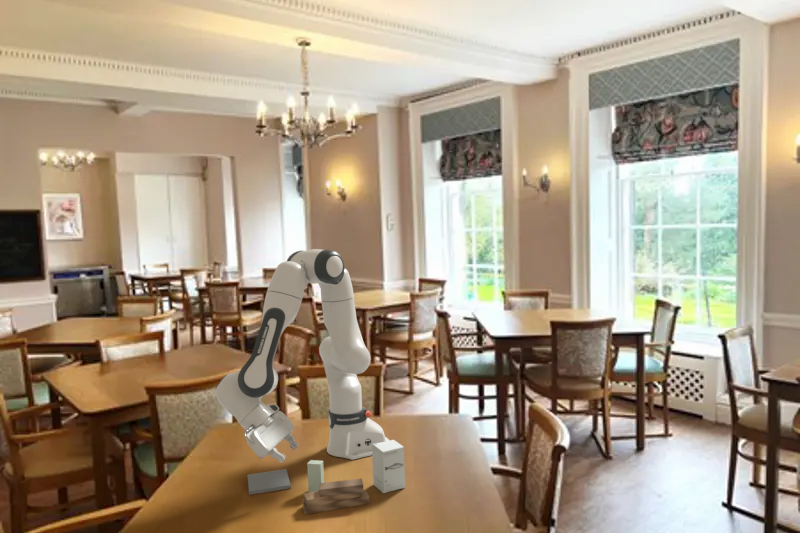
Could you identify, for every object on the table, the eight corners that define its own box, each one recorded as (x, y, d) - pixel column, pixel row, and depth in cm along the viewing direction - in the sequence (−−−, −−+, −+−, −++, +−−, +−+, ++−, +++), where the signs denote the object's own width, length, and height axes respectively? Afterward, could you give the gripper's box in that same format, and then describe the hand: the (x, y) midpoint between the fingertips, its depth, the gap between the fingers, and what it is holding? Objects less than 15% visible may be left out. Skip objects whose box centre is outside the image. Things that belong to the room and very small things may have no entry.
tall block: (311, 489, 173) (310, 460, 172) (324, 490, 172) (323, 460, 171) (308, 493, 170) (307, 463, 170) (321, 494, 170) (320, 464, 169)
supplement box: (383, 494, 168) (382, 451, 167) (372, 484, 175) (371, 443, 174) (406, 488, 172) (404, 446, 171) (394, 478, 178) (393, 438, 177)
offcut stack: (365, 495, 168) (364, 475, 168) (370, 504, 163) (369, 483, 162) (302, 506, 163) (301, 485, 162) (305, 515, 157) (304, 494, 157)
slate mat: (286, 471, 186) (286, 468, 185) (290, 488, 174) (290, 485, 174) (247, 477, 182) (247, 474, 182) (249, 494, 171) (248, 491, 171)
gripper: (248, 425, 162) (283, 461, 161) (278, 402, 182) (309, 434, 181) (234, 440, 164) (269, 476, 162) (265, 415, 183) (296, 447, 182)
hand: (290, 454), depth 172 cm, fingers open, 8 cm apart
